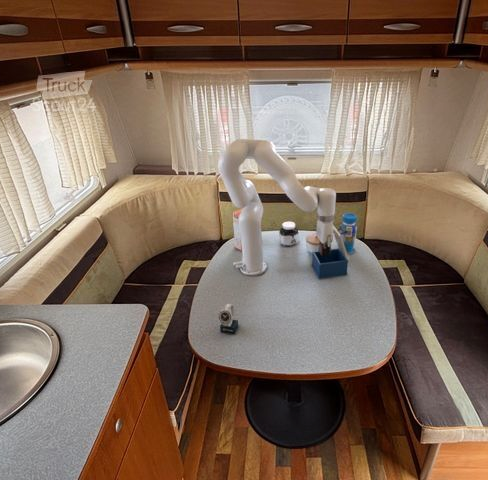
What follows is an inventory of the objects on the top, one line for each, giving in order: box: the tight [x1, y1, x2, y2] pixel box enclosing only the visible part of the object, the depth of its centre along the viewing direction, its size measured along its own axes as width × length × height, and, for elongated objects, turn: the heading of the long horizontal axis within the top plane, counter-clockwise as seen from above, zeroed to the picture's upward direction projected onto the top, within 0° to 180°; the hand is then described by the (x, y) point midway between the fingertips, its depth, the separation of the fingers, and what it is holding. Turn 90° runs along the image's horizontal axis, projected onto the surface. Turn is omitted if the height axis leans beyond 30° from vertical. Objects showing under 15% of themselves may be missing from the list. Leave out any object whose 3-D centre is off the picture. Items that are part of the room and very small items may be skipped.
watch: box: [218, 303, 239, 335], centre depth 133 cm, size 6×8×11 cm
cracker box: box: [232, 208, 243, 252], centre depth 187 cm, size 14×6×21 cm, turn 136°
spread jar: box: [278, 221, 300, 248], centre depth 192 cm, size 12×11×12 cm
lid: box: [333, 224, 350, 261], centre depth 164 cm, size 14×12×5 cm
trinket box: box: [305, 232, 320, 254], centre depth 183 cm, size 11×11×9 cm
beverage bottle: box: [339, 212, 358, 255], centre depth 181 cm, size 8×8×20 cm
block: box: [318, 242, 332, 255], centre depth 164 cm, size 4×4×4 cm
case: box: [311, 247, 349, 280], centre depth 169 cm, size 14×12×8 cm
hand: (324, 251), depth 165 cm, fingers closed on block, 4 cm apart
